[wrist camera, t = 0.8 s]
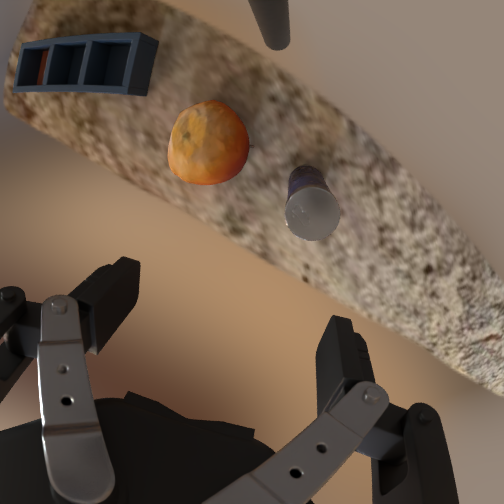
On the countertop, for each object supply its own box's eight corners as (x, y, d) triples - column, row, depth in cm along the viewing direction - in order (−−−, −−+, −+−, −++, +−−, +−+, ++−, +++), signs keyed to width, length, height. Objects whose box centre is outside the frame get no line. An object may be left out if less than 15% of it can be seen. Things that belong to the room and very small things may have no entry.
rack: (43, 46, 28) (21, 43, 24) (159, 41, 28) (141, 32, 24) (34, 91, 31) (12, 92, 27) (146, 96, 31) (127, 94, 26)
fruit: (238, 207, 33) (184, 200, 26) (196, 164, 36) (142, 151, 29) (285, 144, 30) (239, 118, 23) (236, 106, 32) (186, 80, 26)
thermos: (292, 160, 32) (292, 180, 21) (328, 170, 31) (347, 196, 21) (284, 194, 33) (278, 233, 22) (318, 204, 33) (330, 246, 22)
